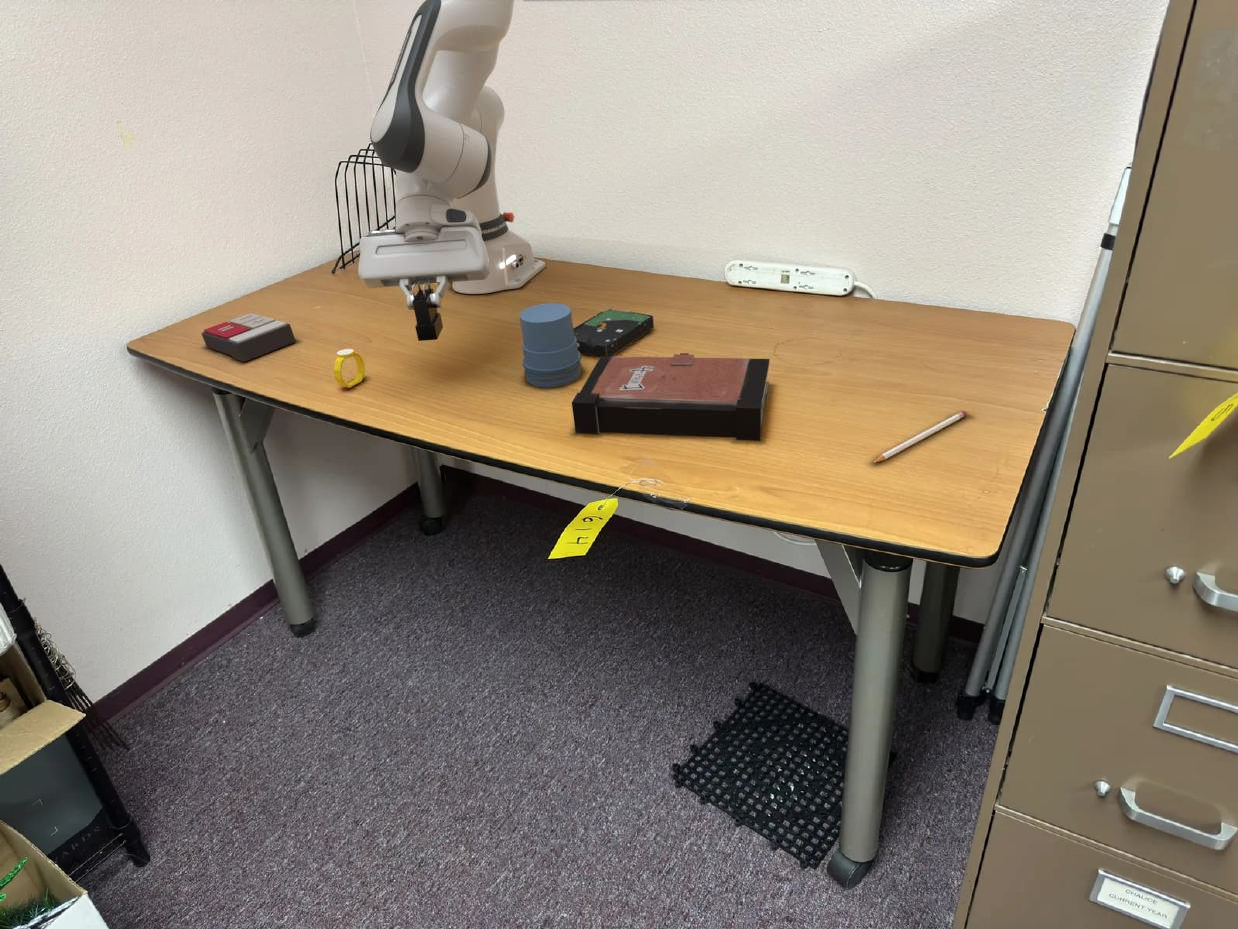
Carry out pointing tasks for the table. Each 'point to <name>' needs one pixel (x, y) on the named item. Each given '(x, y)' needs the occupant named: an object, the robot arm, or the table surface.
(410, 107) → the robot arm
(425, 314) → the clip
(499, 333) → the table surface
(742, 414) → the book
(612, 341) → the disk drive
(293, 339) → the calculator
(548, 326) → the cup stack
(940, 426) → the pencil
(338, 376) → the watch
